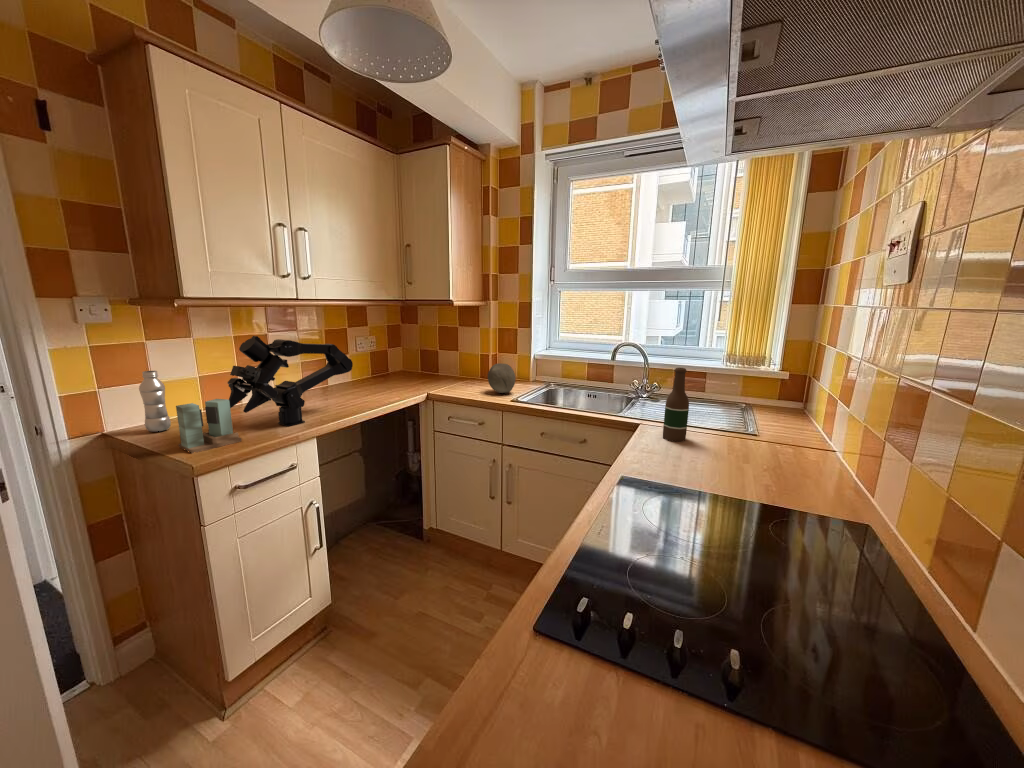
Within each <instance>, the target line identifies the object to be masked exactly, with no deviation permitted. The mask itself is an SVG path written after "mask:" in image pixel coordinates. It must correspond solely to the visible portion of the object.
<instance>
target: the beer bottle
mask: <svg viewBox="0 0 1024 768" xmlns="http://www.w3.org/2000/svg"><path fill="white" fill-rule="evenodd" d="M674 372H675V373H674V380H673V386H672V390H671V392H670V393H669V394H668V396H667V398H666V401H665V405H664V417H663V428H662V438H663V439H665V440H666V441H669V442H677V443H682V442H685V441H686V437H687V431H688V430H687V429H688V421H689V420H688V419H689V412H690V411H689V410H690V401H689V397H688V395H687V393H686V373H687V368H685V367H675V369H674Z"/></svg>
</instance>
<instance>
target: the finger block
mask: <svg viewBox="0 0 1024 768" xmlns="http://www.w3.org/2000/svg"><path fill="white" fill-rule="evenodd" d="M204 405H205V407H204V410H205V417H206V424H207V426H208V432H209V435H210V436H213V437H218V436H223V435H227V434H232V433H234V430H233V429H234V428H233V421H232V420H233V419H232V412H231V408H230V402H229V399H225V398H224V399H223V398H214V399H211V400H206V401H205V402H204Z"/></svg>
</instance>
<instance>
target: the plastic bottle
mask: <svg viewBox="0 0 1024 768" xmlns="http://www.w3.org/2000/svg"><path fill="white" fill-rule="evenodd" d="M141 376H142V379H143V380H142V382H141V383H140V384H139V386H138V391H139V393H140V396H141V398H142V404H143V407H144V427H145V429H146V430H147V431H148V432H152V433H153V432H157V433H158V431H159V432H163V431H166V430H169V429H170V427H171V418H170V416H169V413H168V411H167V410H168V409H167V406H166V386H165V384H164V383H163V382H162V380H160V379H159V378H158V377H159V375H158V371H157V370H145V371H142V375H141Z"/></svg>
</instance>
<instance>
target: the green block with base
mask: <svg viewBox="0 0 1024 768" xmlns="http://www.w3.org/2000/svg"><path fill="white" fill-rule="evenodd" d="M175 410H176V416H177V423H178V431H179V437H180V443H178V445H177V446H178V448H179V449H182V450H184V449H185V450H184V451H186V450H187V451H186V452H188V451H189V452H188V453H190V452H191V453H190V454H195V453H194V452H196V453H198V452H199V451H200V452H204V451H207V450H208V451H209V450H212V449H215V448H220V447H223V446H224V447H225V446H227V445H232V444H236V443H239V442H242V437H240V436H239V432H238V431H237V432H233V433H232V434H227V435H223V436H218V437H213V436H210V435H209V431H206V432H203V427H204V419H203V412H202V409H200V405H199V404H196V403H194V402H191V403H185V404H184V403H183V404H179V405H176V406H175ZM200 452H199V453H200Z"/></svg>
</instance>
